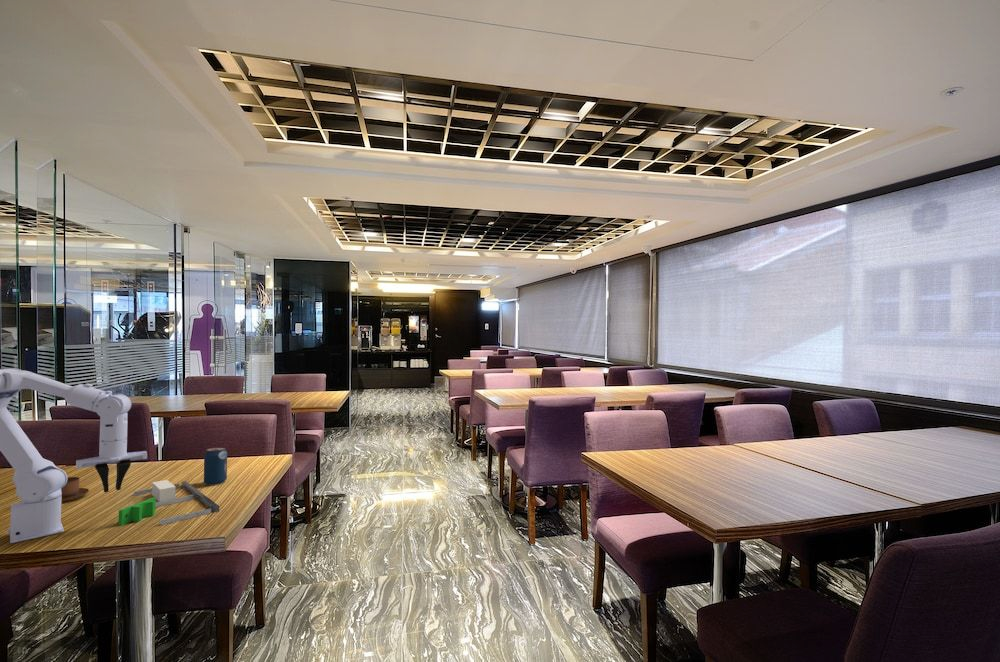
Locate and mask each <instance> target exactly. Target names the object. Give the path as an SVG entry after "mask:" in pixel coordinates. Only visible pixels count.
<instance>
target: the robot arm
mask: <svg viewBox="0 0 1000 662" xmlns="http://www.w3.org/2000/svg"><path fill="white" fill-rule="evenodd" d="M93 386H94V385H93V384H90V383H85V384H82V383H80V384H76V385H74V386H72V385H70V384H66V383H63V382H61V381H57V380H55V379H51V378H49V377H46V376H44V375H41V374H37V373H34V372H33V371H30V370H29V371H28V370H22V369H20V368H16V367H9V368H3V369H2V368H0V452H1V454H2V455H3V456H4V457H5V459H6V461H7V462H8V463H9V464H10V466H11V467H12V468H13V470H14V474H13V477H12V482H13V484H14V486H15V493H16V496H17V497H18V498H19V499H20V500H21V501H18V502H14V503H11V505H10V525H9V526H8V527H7V528H8V529H7V531H8V532H7V535H9V543H10V544H14V543H19V542H23V541H24V542H25V541H28V540H33V539H37V538H42V537H46V536H51V535H52V536H53V535H54V534H55V535H56V534H61V533H63V532H65V529H64V526H63V524H62V523H63V522H61V521H62V502H61V500H62V492H61V488H63V487H64V486H65V484H66V483H67V479H68V477H69V476H68V475H67V473H66V471H65V470H64V469H62V468H59V467H57V466H56V464H54V462H53V461H51V460H49V459H45V458H43V457H42V455H41V453H39V451H38V449H37V448H36V446H35V445H34V444H33V442H32V441H31V440H30V438H29V436H28V435H27V434H26V433H25V432H24V430H23V429H22V427H21V426H20V425H19V423H18V422H17V420H16V419H15V418H14V417H13V415H12V414H11V413H10V411H9V409H8V405H9V403H10V402H11V400H12V398H14V397H15V396H16V395H17V394H18V393H19V392H20V391H22V390H32V391H36V392H40V393H44V394H47V395H51V396H56V397H59V398H63V399H65V401H66V404H67V405H70V406H72V407H77V408H79V409H83V410H85V411H90V412H94V413H96V414H97V416H99V417H100V418H99V419H100V420H99V422H100V423H99V448H98V449H99V452H98V455H99V456H94V457H88V458H83V459H78V460H77V459H76V461H75V468H76V469H77V470H79V469H84V468H90V467H94V468H95V470H96V471H97V473H98V476H99V477H100V480H101V483H102V488H103V492H104V493H108V492H109V487H110V486H109V473H110V472H109V471H110V468H109V464H116V481H115V489H116V491H121V488H122V484H123V481H124V478H125V476H126V474H127V473H128V471H129V468H130V466H132V465H131V464H132V462H131V461H137V460H147V459H148V452H147V451H146V450H142V451H133V452H127V451H128V450H127V449H128V418H129V417H128V412H129V411H130V410H131V409H132V400H131V398H130V397H128V396H127V395H125V394H123V393H115V394H113V391H111V390H106V391H105V390H101V389H98V388H95V387H93Z"/></svg>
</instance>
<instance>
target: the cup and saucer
mask: <svg viewBox="0 0 1000 662" xmlns="http://www.w3.org/2000/svg"><path fill="white" fill-rule="evenodd" d="M67 477H68V479H67V483H66V484H65V486H64V487H63V488H61V492H62V500H61V503H66V502H69V501H74V500H77V499H80V498H82V497H84V496H85V495H87V494H88V493H89V491H90V489H89V488H85V487H84V488H83V487H80V477H78V476H71V477H69V476H67Z"/></svg>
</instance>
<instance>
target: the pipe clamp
mask: <svg viewBox="0 0 1000 662" xmlns="http://www.w3.org/2000/svg"><path fill="white" fill-rule="evenodd" d="M156 502H157V499H156V498H155V497H150V498H148V499H145V500H142V501H140V502H136V503H135V504H132V505H128V506H127V507H123V508H121V509H119V510H118V526H124V525H127V524H129V523H131V521H134V522H135V523H139V522H142V519H143V518H148V516H149V517H154V515H155V513H156V508H157V507H156ZM134 522H133V523H134ZM126 523H127V524H126Z"/></svg>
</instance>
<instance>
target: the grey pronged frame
mask: <svg viewBox="0 0 1000 662" xmlns="http://www.w3.org/2000/svg"><path fill="white" fill-rule="evenodd" d="M172 484H173V485H174V486H175V487H176V489H177V488H180V484H181V487H182V489H184V490H185V491H187V492H188V493H189V495H185V496H180V497H175V499H170V500H165V501H160V502H159V501H156V507H155V508H157V507H162V506H163V507H164V506H167V505H172V504H178V503H183V502H186V501H192V500H194V499H195V498H196V499H197V501H199V502H201V503H202V504H203V505H205V506H206V507H207V508H206V509H201V510H198V511H197V510H196V511H193V512H189V513H183V514H180V515H175V516H171V517H170V516H169V517H166V518H163V519H159V526H163V525H167V524H171V523H174V522H175V523H176V522H179V521H183V520H184V521H185V520H188V519H192V518H196V517H201V516H205V515H208V514H209V515H210V514H211V513H212V512H213V513H217V512H220V505H219V504H217V503H216V502H215V501H213V500H212V499H211V498H209V497H208V496H206V495H205V494H204V493H202V492H201V491H200V490H198V489H197V488H196V487H195V486H193V485H192V484H190V483H189V482H188V481H186V480H185V481H181V483H178V482H177V483H172ZM146 494H152V487H151V488H145V489H141V490H139V489H138V490H135V491H133V496H140V495H146Z"/></svg>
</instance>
